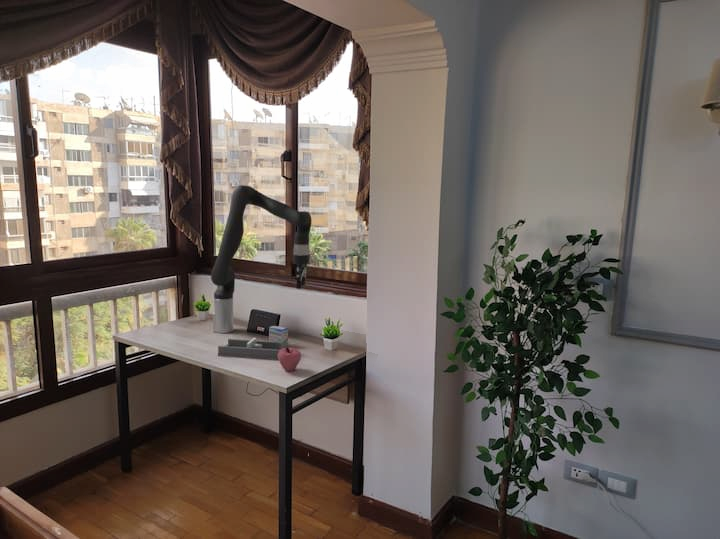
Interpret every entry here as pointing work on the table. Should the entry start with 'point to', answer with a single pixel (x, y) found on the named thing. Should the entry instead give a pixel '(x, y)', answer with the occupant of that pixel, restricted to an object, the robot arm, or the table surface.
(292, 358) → the apple
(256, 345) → the pusher
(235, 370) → the table surface
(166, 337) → the table surface
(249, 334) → the table surface
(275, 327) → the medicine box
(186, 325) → the table surface
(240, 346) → the lane
